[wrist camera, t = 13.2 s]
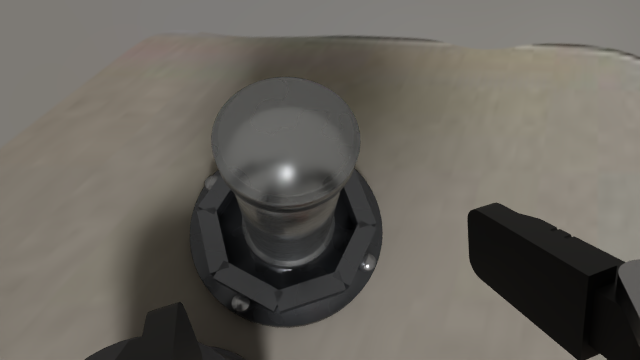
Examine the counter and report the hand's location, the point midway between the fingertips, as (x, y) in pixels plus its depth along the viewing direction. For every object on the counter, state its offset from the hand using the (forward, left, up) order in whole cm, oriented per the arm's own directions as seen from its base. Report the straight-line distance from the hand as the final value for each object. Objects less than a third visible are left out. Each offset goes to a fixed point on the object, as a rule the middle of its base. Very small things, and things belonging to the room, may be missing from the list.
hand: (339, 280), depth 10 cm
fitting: (0, +5, -11) cm, 12 cm away
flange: (0, +5, -12) cm, 13 cm away
